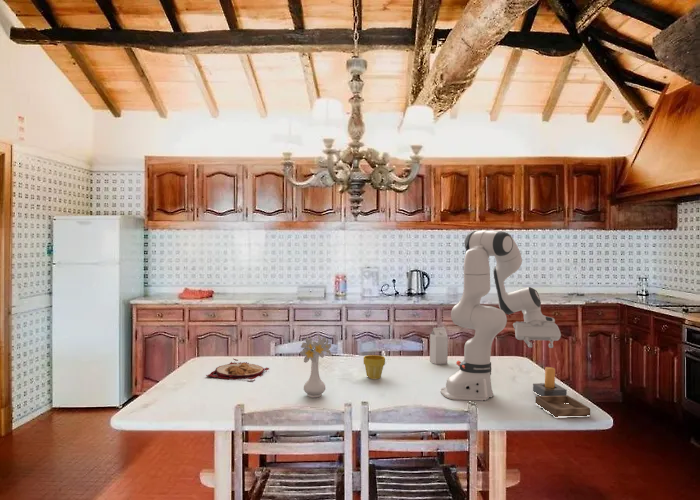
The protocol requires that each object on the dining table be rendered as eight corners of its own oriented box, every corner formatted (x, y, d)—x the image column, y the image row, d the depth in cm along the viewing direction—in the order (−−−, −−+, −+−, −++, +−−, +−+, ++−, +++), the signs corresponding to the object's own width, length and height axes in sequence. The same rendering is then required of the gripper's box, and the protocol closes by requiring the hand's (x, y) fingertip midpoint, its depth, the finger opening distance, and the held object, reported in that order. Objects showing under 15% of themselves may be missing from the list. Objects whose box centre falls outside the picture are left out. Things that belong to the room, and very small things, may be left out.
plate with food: (204, 379, 247) (204, 371, 247) (231, 364, 272) (231, 357, 272) (252, 384, 241) (252, 376, 240) (275, 368, 266) (275, 362, 266)
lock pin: (547, 397, 223) (548, 369, 223) (542, 394, 227) (543, 367, 226) (556, 397, 223) (556, 369, 223) (551, 394, 227) (552, 367, 227)
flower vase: (296, 402, 211) (297, 341, 211) (303, 389, 230) (303, 333, 229) (328, 403, 211) (329, 342, 210) (332, 390, 229) (333, 333, 228)
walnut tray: (555, 418, 197) (555, 409, 197) (535, 404, 213) (535, 396, 213) (590, 417, 199) (590, 408, 198) (567, 403, 214) (567, 395, 214)
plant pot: (383, 374, 256) (384, 354, 256) (385, 380, 246) (386, 359, 246) (362, 374, 256) (363, 354, 256) (364, 380, 245) (364, 359, 245)
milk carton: (429, 361, 284) (430, 326, 283) (441, 360, 286) (441, 326, 286) (435, 364, 277) (436, 329, 277) (447, 363, 279) (448, 328, 279)
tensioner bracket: (544, 399, 220) (544, 390, 219) (533, 392, 229) (533, 383, 229) (566, 399, 221) (566, 389, 221) (554, 391, 231) (554, 383, 231)
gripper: (513, 317, 244) (519, 342, 235) (557, 318, 244) (565, 343, 234) (510, 325, 249) (516, 350, 239) (554, 326, 248) (561, 351, 239)
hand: (540, 347), depth 237 cm, fingers open, 8 cm apart
